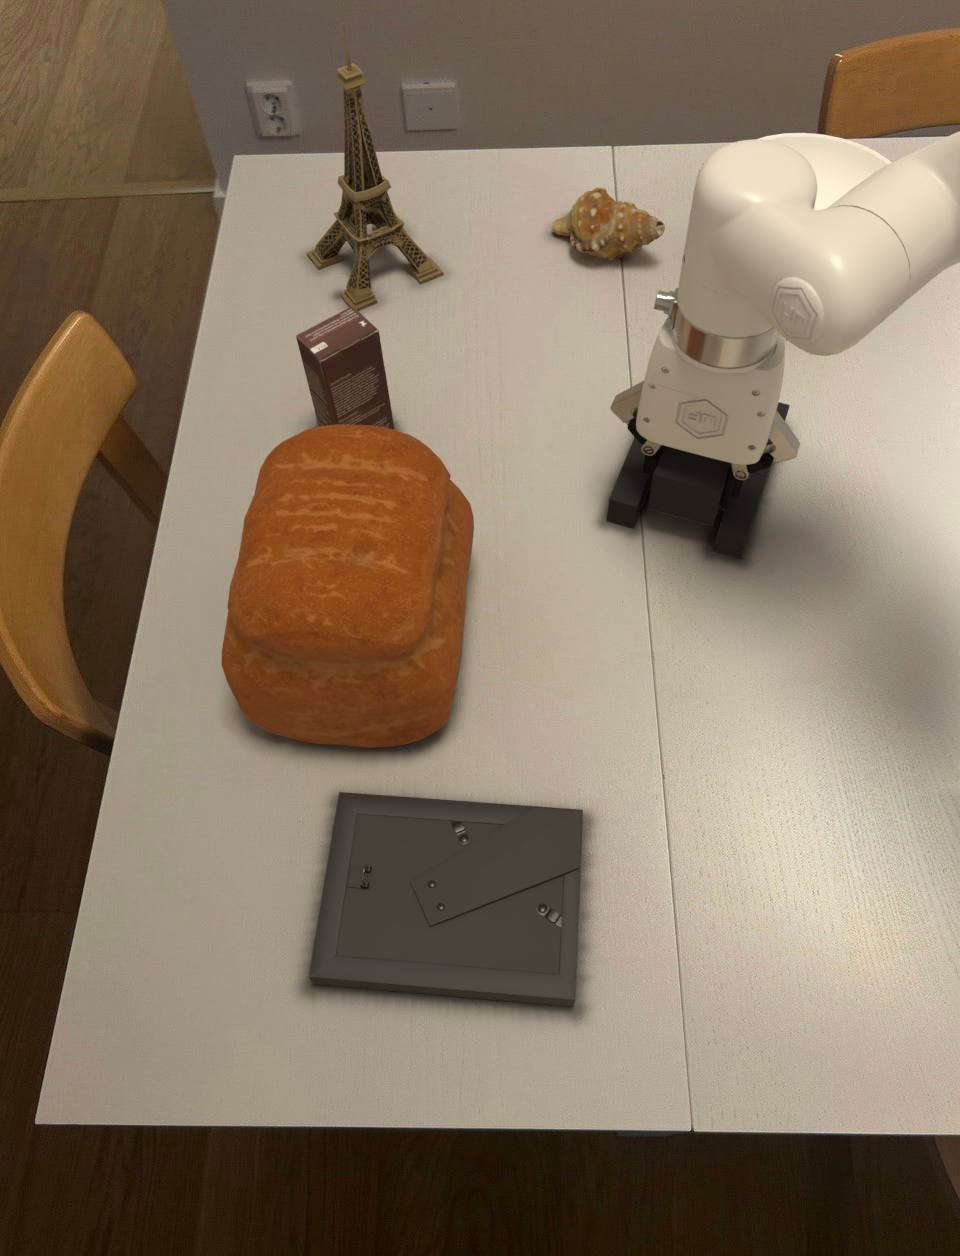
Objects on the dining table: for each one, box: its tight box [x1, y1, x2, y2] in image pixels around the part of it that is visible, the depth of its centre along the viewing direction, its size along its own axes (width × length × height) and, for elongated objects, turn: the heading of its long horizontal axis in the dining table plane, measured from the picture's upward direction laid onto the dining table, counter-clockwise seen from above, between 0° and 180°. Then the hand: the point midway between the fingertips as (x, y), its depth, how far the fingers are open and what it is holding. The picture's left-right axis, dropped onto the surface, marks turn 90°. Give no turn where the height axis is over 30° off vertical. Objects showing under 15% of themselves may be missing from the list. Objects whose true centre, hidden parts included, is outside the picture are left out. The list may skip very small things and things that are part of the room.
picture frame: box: [308, 791, 584, 1008], centre depth 74 cm, size 13×2×18 cm
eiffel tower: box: [306, 22, 444, 312], centre depth 101 cm, size 11×11×25 cm
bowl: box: [758, 132, 893, 210], centre depth 105 cm, size 20×20×10 cm
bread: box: [221, 424, 475, 748], centre depth 80 cm, size 18×21×17 cm
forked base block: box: [606, 401, 791, 560], centre depth 94 cm, size 12×16×3 cm
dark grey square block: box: [647, 446, 731, 527], centre depth 89 cm, size 6×6×4 cm
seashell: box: [552, 186, 666, 261], centre depth 110 cm, size 9×8×10 cm
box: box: [295, 306, 396, 430], centre depth 94 cm, size 6×4×12 cm
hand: (690, 485), depth 90 cm, fingers closed on dark grey square block, 5 cm apart
